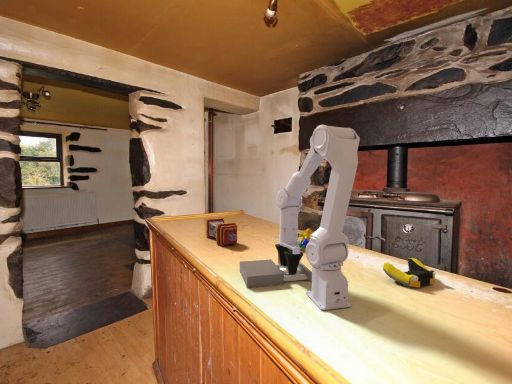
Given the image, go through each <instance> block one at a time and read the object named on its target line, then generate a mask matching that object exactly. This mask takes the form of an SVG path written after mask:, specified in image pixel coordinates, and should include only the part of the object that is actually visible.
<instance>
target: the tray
mask: <svg viewBox="0 0 512 384" xmlns="http://www.w3.org/2000/svg"><path fill="white" fill-rule="evenodd" d="M276 265H277V267H278V268H279V267H280V266H281V265H279V264H276ZM304 280H306V281H307V280H308V281H309V282H312V270H310V269H309V268H308V267H307V266H306V265H304V264H303V263H302V262H301V261H300V262H299V265H298V268H297V273H296V274H295V275H288V276H287V275H284V283H285V282H293V281H304Z"/></svg>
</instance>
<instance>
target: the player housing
mask: <svg viewBox="0 0 512 384" xmlns="http://www.w3.org/2000/svg"><path fill="white" fill-rule="evenodd" d="M277 265H278V264H276V263H275V262H274V261H273V259H260V260H259V259H257V260H246V261H245V260H243V261H239V273H240V276H241V278H242V279H243V280H242V281H243V282H244V284H245V286H246V288H247V289H250V288H261V287H272V286H283V285H284V284H285V282H284V273H283V272H282V271H281V270H280V269H279V268H278V267H277Z"/></svg>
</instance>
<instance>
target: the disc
mask: <svg viewBox="0 0 512 384" xmlns="http://www.w3.org/2000/svg"><path fill="white" fill-rule="evenodd" d="M279 269H280V270H281V271H282V272H283V273H284V275H287V276H288V275H289V273H288V265H282V266H280V267H279ZM296 273H297V272H296Z"/></svg>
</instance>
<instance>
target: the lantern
mask: <svg viewBox="0 0 512 384" xmlns="http://www.w3.org/2000/svg"><path fill="white" fill-rule="evenodd" d="M205 236H206V238H209V239H210V238H215V243H216V245H217V246H218V247H219V246H222V247H224V246H227V245H237V244H238V225H237V223H236V222H226V223H225V220H224V218H223V217H215V218H206V219H205Z"/></svg>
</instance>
